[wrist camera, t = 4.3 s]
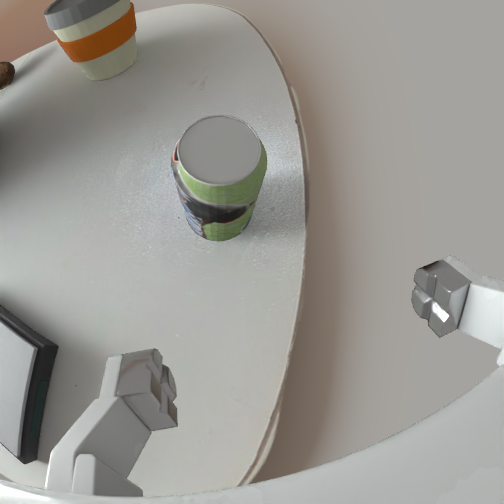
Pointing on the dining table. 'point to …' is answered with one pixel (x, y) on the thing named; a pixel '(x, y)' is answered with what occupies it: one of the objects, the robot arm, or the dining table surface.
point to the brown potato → (6, 74)
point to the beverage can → (218, 175)
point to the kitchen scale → (23, 385)
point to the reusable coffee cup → (96, 34)
